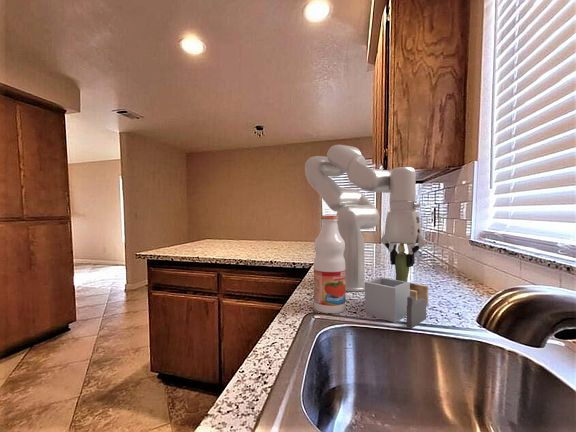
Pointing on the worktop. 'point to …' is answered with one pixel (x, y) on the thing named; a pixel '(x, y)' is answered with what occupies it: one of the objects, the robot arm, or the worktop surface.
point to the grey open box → (386, 298)
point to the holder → (419, 291)
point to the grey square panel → (415, 311)
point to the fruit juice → (329, 268)
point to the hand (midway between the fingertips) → (402, 264)
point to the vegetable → (401, 264)
